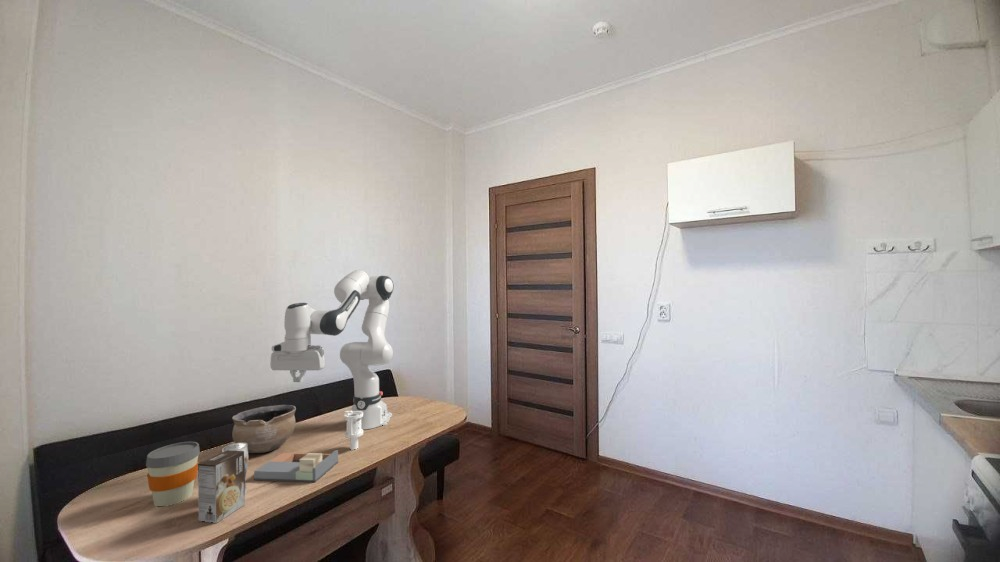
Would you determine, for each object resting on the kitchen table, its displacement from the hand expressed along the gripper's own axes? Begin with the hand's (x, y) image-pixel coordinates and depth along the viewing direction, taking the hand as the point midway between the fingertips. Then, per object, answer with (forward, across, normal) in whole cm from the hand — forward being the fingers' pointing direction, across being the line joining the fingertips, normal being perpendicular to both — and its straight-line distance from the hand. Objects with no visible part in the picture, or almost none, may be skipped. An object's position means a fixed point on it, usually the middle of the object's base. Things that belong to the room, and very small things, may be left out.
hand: (298, 381), depth 140 cm
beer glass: (+29, +4, +25) cm, 39 cm away
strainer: (+29, -17, -10) cm, 35 cm away
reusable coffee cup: (+29, +22, +28) cm, 46 cm away
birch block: (+26, -14, +13) cm, 32 cm away
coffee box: (+29, 0, +34) cm, 45 cm away
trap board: (+29, -6, +9) cm, 31 cm away
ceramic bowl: (+29, +20, -8) cm, 36 cm away
